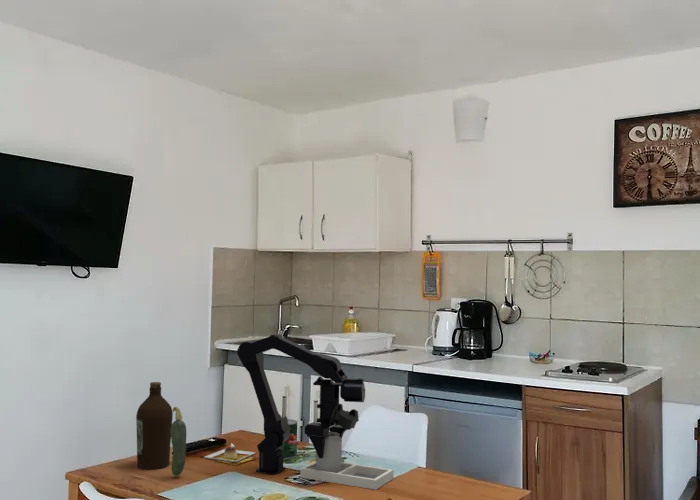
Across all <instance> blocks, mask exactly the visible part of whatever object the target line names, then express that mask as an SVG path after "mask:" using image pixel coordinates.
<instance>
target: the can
mask: <svg viewBox="0 0 700 500" xmlns="http://www.w3.org/2000/svg"><path fill="white" fill-rule="evenodd" d="M328 435H329V437H328V438H327V439H326V440H325V445H324V454H323V458H319V457H318V455H317V452H316V451H315V452H316V453H315V455H316V456H315V462H316V470H321V471H327V472H334V473H338V472H340V471H341V467H342V462H343V461H342V460H343V459H342V457H343V455H342V454H343V453H342V452H343V451H342V450H343V449H342V448H343V438H342V439H341V438H340V436H339V435H340V434H339V433H336V432H330V431H329V433H328Z"/></svg>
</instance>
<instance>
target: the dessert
mask: <svg viewBox="0 0 700 500" xmlns="http://www.w3.org/2000/svg"><path fill="white" fill-rule="evenodd" d="M221 454H223V456H222V457H223V458H217V456H219V455H221ZM238 454H241V455H242V454H244V455H246V456H244V457H241V458H239V459H237V458H238ZM255 454H256V452H255V451H246V450H237V449H236V447H235V445H234V444H233V443H232V442H231V443H229V444H228V445H227V446H226V447H225V448H223V449H221V450H218V451H216V452H213V453H210V454H208V455H206V456H204V458H205V459H208V460H214V461H215V460H216V461H217V460H218V461H223V462H230V463H231V462H232V463H237V462H239V461H242V460H244V459H246V458H249V457H251V456H253V455H255ZM235 458H236V459H237V460H233V459H235ZM231 459H232V460H231Z"/></svg>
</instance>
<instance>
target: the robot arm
mask: <svg viewBox="0 0 700 500" xmlns="http://www.w3.org/2000/svg"><path fill="white" fill-rule="evenodd" d="M272 349H275V350H277V351H278V352H281V353H283V354H285V355H287V356H289V357H291V358H293V359H295V360H297V361H299V362H301V363H303V364H305V365H307V366H308V367H310V368H311V369H312V370H313V371H314V372H315V373H316V374H318V375H319V376H318V377H317V379H316V380H315V381H314V382H313V383H312V384H313V386H319V403H318V404H316V408H317V409H319V417H317V418H316V422H314V421H313V422H310V423H307V424H306V425H305V426H304V435H306V437H308V438H309V440H310V441H311V444H312V446H313V447H314V450H315V452H317V455H318V457H319V458H323V454H324V445H325V440H326V439H327V438H328V437H329V435H328V433H329V432H336V433H339V434H340V435H339V436H340V438H341V439H342V440H343V437H344V434H345V432H347V431H349V430H351V429H355V427H356V424H357V422H360V421H359V420H360V419H359V411H358V410H356V409H355V408H354V409H351V410H350V411H349V410H344V408H343V403H340V398H341V399H342V400H343V401H344V402H347V403H349V402H351V403H364V402H365V399H366V388H365V387H366V385H365V382H364V380H365V379H364V378H363V377H362V378H361V377H360V378H349V377H348V376H347V374H346V373H345V372H344V370H343V368H342V363H341V361H340V359H339V358H338V357H335V356H332V355H328V354H323V353H318V352H315V351H313V350H310V349H308V348H306V347H304V346H302V345H300V344H298V343H296V342H294V341H292V340H290V339H288V338H285V337H284V336H282V334H278V333H274V334H271V335H269V336H267V337H265V338H262V339H259V340H249V341H244V342H241V344H239V346H238V348H237V350H236V353H237V356H238V358H239V360H240V362H241V364H242V366H243V367H244V369H246V371H247V372H248V373H249V377H250V380H251V382H252V385H253V388H254V391H255V395H256V398H257V401H258V404H259V408H260V410H261V413H262V416H263V434H264V438H263V439H262V440H261V442H259V443H258V444H257V446H256V448H257V451H258V456H259V457H258V468H257V469H255V472H257V473H262V474H268V475H276V474H278V473H280V472H283V471H285V470H286V468H285V467H284V459H283V458H284V456H283V455H282V450H281V449H280V448H281V447H282V446H283V444H284V442H286V441H287V440H288V438H289V436H290V431H289V430H290V429H291V428H290V426H289V424H288V420H287V419H288V417H287V416H286V415H285V416H281V414H280V413H279V412H278V407H277V405H276V402H275V398H274V395H273V393H272V389H271V386H270V383H269V381H268V377H267V375H266V372H265V368H264V362H265V361H264V357H265V356H264V353H266V352H267V351H270V350H272Z"/></svg>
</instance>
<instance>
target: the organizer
mask: <svg viewBox="0 0 700 500" xmlns="http://www.w3.org/2000/svg"><path fill="white" fill-rule="evenodd" d="M356 473H359V474H365V475H371V476H378V477H376V478H375V479H371V478H365V477H359V476H352V475H354V474H356ZM299 477H300V478H304V479H308V478H309V479H310V480H316V481H322V482H327V483H332V484H333V483H334V484H338V485H345V486H351V487H357V488H363V489H368V490H370V489H371V490H377V489H379V488H381V487H383V486H384V485H386V484H387V483H389V482H391V481H392V480H394V469H391V468H384V467H377V466H369V465H363V464H358V463H351V462H350V463H349V462H343V461H342V467H341V471H340V472H338V473H334V472H327V471H321V470H316V461H313V462H311V463H310V464H307V465H304V466H302V467H300V474H299Z"/></svg>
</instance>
